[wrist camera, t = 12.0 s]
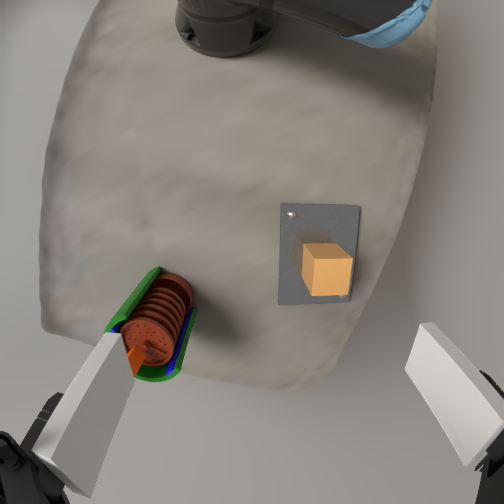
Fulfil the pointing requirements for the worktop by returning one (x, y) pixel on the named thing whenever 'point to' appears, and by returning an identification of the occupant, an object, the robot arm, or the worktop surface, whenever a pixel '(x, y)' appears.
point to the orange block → (326, 269)
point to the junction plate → (312, 231)
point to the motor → (156, 325)
